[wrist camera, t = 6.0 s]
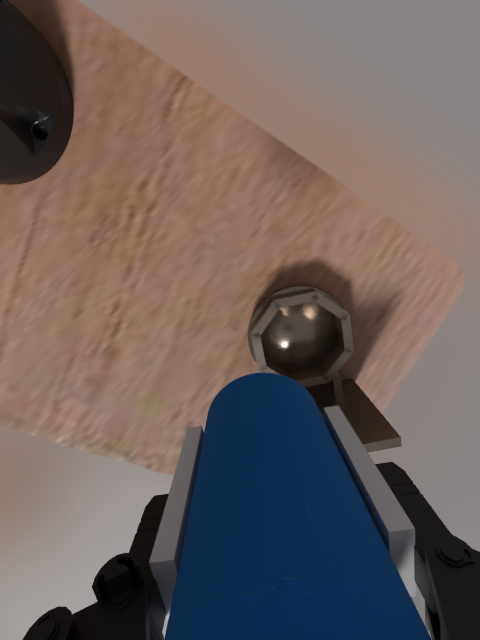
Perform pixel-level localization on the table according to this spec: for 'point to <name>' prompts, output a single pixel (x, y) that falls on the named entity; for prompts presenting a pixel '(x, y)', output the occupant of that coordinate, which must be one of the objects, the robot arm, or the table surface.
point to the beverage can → (282, 531)
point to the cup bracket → (316, 356)
